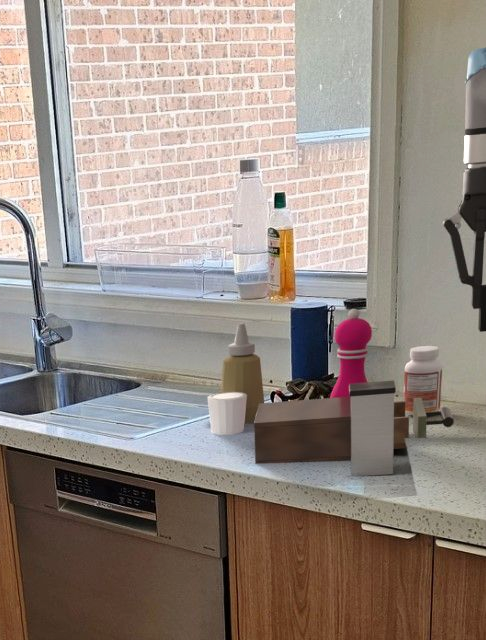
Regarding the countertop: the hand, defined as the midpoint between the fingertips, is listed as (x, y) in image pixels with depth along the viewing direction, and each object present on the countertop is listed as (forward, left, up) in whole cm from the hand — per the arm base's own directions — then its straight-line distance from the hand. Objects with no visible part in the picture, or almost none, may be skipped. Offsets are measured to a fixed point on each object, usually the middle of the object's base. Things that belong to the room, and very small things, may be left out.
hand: (484, 329), depth 186 cm
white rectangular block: (+17, +14, -17) cm, 28 cm away
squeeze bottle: (+38, -24, -17) cm, 48 cm away
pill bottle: (+7, -23, -18) cm, 30 cm away
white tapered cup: (+40, -16, -17) cm, 47 cm away
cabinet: (+26, 0, -17) cm, 32 cm away
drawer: (+14, 0, -16) cm, 21 cm away
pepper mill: (+19, -15, -17) cm, 30 cm away
